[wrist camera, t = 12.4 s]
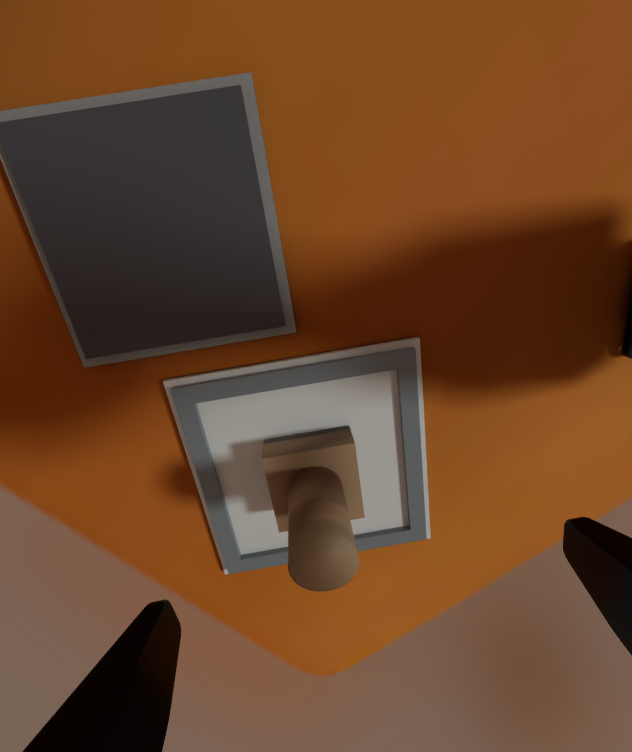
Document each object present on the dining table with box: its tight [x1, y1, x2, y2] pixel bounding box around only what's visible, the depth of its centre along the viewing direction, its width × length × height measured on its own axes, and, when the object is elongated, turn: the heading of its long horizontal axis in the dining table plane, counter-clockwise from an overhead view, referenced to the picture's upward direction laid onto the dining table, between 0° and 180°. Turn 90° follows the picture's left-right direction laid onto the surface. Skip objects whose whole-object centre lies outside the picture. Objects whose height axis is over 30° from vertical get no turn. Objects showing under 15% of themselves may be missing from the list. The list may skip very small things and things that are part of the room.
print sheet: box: [163, 337, 431, 574], centre depth 22 cm, size 14×14×1 cm
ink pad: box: [0, 72, 297, 368], centre depth 17 cm, size 11×11×1 cm
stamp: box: [262, 425, 365, 591], centre depth 18 cm, size 5×5×7 cm
